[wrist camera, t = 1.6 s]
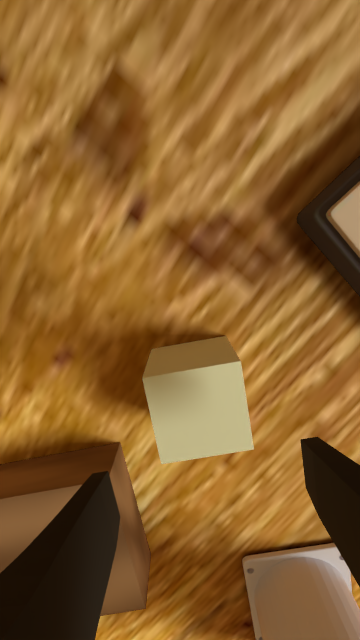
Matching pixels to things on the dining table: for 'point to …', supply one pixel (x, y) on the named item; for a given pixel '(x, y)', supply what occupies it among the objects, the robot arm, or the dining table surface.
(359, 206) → the red cream box
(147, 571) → the walnut riser
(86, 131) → the dining table surface
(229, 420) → the sage cube
